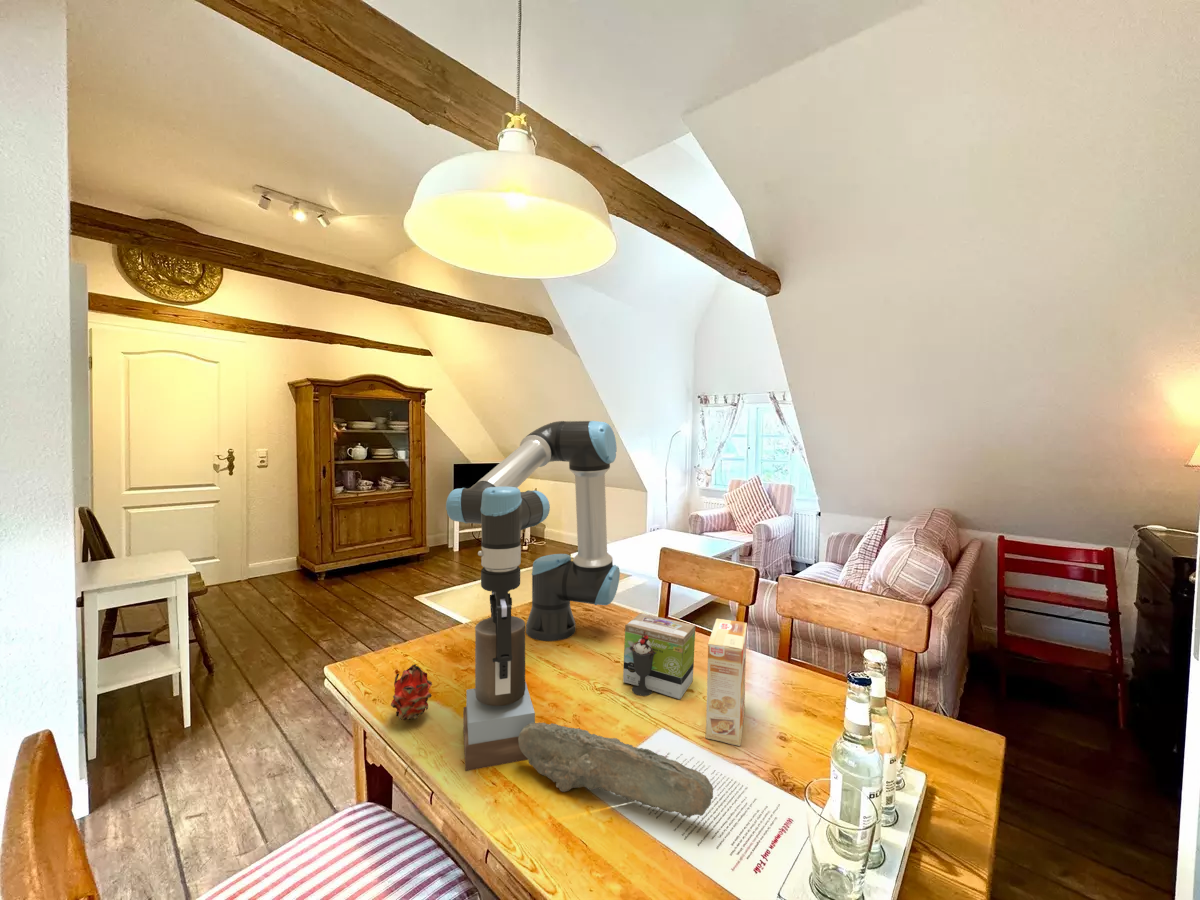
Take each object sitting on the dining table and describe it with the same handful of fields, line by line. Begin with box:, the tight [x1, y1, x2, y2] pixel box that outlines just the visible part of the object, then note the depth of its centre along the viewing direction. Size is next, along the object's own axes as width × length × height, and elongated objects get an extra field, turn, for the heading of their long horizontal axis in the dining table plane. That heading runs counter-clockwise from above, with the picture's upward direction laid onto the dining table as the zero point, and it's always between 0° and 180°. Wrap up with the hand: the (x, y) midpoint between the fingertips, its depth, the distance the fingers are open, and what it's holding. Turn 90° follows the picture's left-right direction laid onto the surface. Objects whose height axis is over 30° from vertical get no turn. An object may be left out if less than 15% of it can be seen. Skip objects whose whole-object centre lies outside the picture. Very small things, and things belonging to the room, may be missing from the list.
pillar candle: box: [474, 615, 526, 706], centre depth 95 cm, size 10×10×15 cm
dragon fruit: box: [390, 663, 433, 721], centre depth 103 cm, size 8×8×12 cm
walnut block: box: [462, 706, 529, 772], centre depth 96 cm, size 13×13×5 cm
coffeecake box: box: [705, 618, 748, 747], centre depth 103 cm, size 15×7×20 cm, turn 160°
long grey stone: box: [518, 722, 714, 819], centre depth 82 cm, size 35×5×10 cm, turn 69°
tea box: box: [622, 612, 696, 700], centre depth 119 cm, size 15×10×15 cm
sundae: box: [630, 631, 656, 697], centre depth 116 cm, size 7×7×15 cm
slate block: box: [465, 681, 536, 745], centre depth 95 cm, size 12×12×4 cm
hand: (500, 679), depth 95 cm, fingers closed on pillar candle, 10 cm apart
